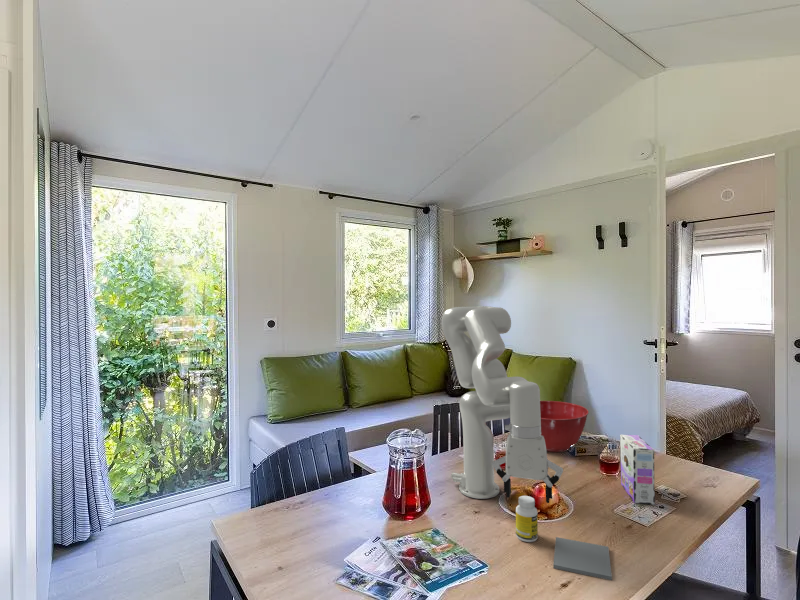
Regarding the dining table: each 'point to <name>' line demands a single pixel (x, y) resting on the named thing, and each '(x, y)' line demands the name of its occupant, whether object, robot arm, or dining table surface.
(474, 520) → the dining table surface
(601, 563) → the slate coaster
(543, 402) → the mixing bowl
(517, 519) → the supplement bottle
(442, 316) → the robot arm
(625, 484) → the candy box
